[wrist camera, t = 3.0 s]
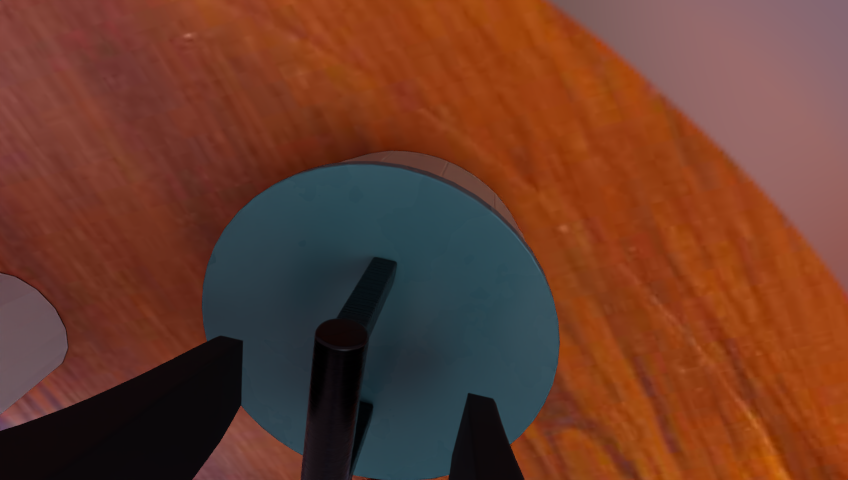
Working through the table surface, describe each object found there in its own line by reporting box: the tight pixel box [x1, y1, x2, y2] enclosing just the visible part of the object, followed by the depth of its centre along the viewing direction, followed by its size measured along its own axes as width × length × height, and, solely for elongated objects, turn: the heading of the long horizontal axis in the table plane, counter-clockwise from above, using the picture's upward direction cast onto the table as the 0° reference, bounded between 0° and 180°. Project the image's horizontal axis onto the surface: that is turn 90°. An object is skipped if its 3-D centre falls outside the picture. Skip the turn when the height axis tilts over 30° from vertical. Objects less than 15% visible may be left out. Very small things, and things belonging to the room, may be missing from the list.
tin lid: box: [202, 161, 560, 480], centre depth 12 cm, size 11×11×6 cm
